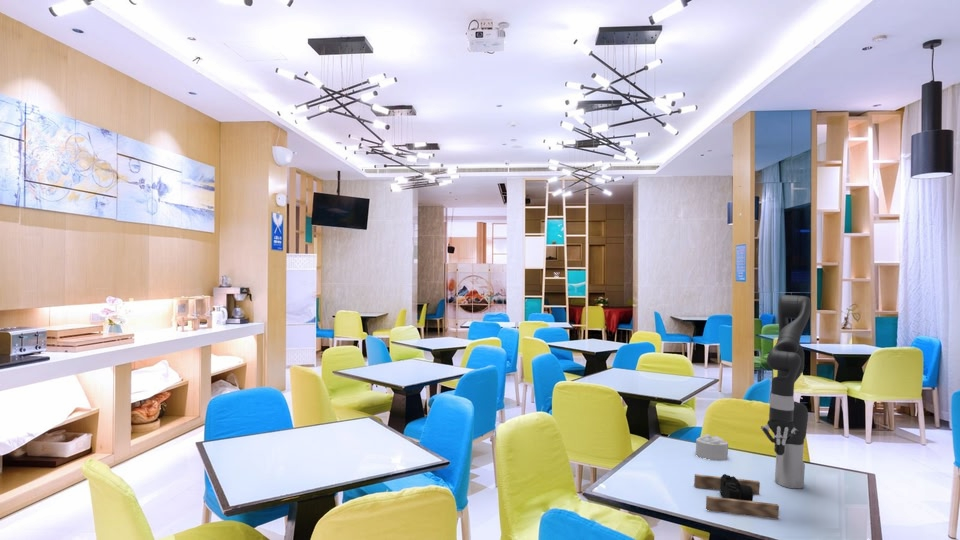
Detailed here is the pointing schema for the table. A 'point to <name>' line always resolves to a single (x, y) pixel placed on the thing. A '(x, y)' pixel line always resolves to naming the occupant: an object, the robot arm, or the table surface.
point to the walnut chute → (733, 504)
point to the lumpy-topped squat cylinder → (711, 448)
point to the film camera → (735, 489)
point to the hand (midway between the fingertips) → (779, 454)
